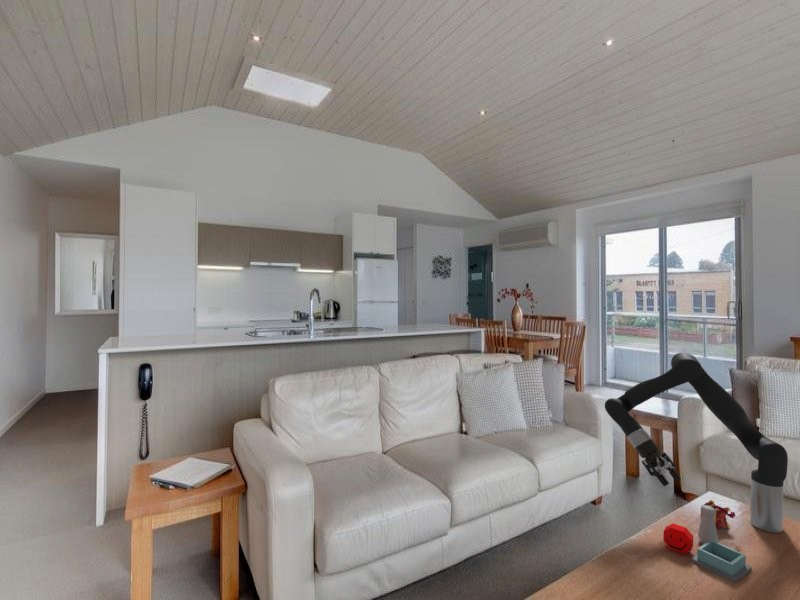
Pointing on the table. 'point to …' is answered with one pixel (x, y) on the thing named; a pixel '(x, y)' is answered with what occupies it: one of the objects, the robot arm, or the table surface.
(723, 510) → the book monster
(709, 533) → the salt shaker
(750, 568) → the stand
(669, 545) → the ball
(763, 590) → the table surface
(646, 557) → the table surface
